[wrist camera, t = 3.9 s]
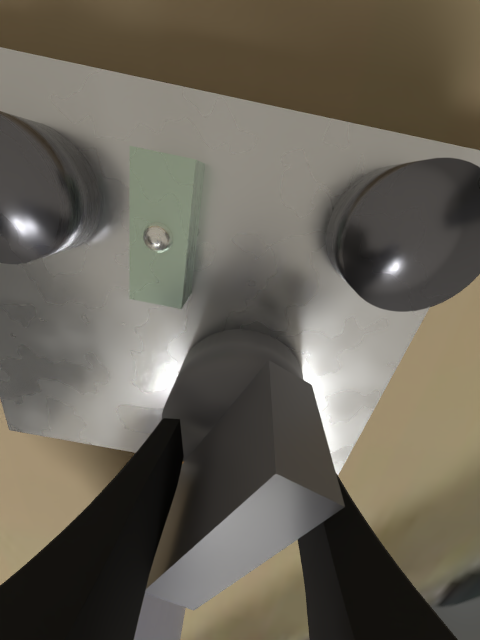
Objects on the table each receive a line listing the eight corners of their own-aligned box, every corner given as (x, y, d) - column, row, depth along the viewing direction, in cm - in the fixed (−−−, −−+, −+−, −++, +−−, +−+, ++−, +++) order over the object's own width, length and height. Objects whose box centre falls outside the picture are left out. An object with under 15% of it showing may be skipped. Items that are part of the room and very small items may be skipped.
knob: (336, 363, 12) (416, 541, 6) (210, 491, 17) (182, 664, 11) (225, 295, 11) (183, 429, 5) (123, 453, 16) (36, 621, 10)
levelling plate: (325, 465, 18) (341, 531, 15) (28, 411, 18) (-29, 466, 14) (478, 161, 10) (592, 147, 7) (-54, 47, 10) (-229, -32, 6)
